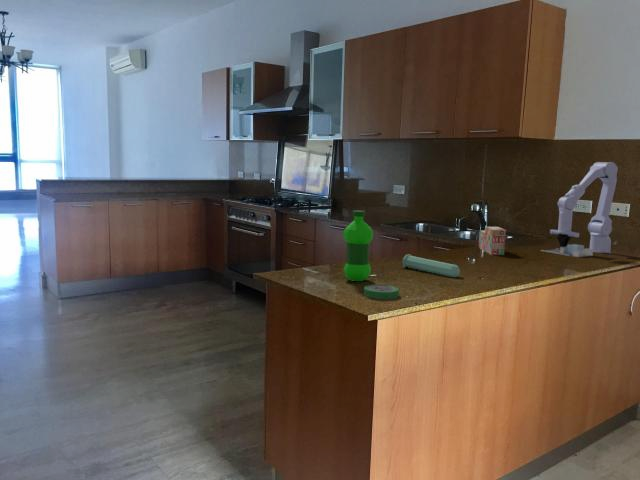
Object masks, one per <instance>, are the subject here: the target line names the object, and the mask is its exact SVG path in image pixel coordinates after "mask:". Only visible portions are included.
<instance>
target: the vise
mask: <svg viewBox="0 0 640 480" xmlns="http://www.w3.org/2000/svg"><path fill="white" fill-rule="evenodd" d="M540 252H544V253H551V254H554V255H555V254H557V255H561V256H566V257H574V258H584V257H593V256H594V255H593V254H594V252H593V249H590V248H589V247H588V248H585V247H584V249H575V250H573V255H569V254H563V253H560V249H559V248H558V247H556V248H555V249H546V250H544V249H540Z"/></svg>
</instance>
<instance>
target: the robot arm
mask: <svg viewBox="0 0 640 480" xmlns="http://www.w3.org/2000/svg"><path fill="white" fill-rule="evenodd" d="M618 171H619V168H618V166H617V164H616V163H615V162H614V161H609V162H607V161H605V162H604V161H601V162H600V161H596V162H594V163H593V165H591V166H590V167H589V171H588V172H587V174H586V175H585V176H584V177H583V178H582V180H581V181H580V182H579V184H575V185H574V184H573V185H572V186H571V188H570V189H569V191H568V192H567V193H565V195H564V196H561V197H560V198H559V199H558V201H557V202H556V205H557V207H558V211H559V214H558V227H557V229H550V230H549V234H551V235H557V236H556V239H557V240H558V243H559V247H564V246H567V245H569V242H570V240H571V239H572V238H580V232H577V231H572V228H573V227H572V225H573V223H572V222H573V211H574V210H573V209H575V208H576V206H577V202H578V201H579V200H580V198H582V196H583V195H584V194H585V192H586V189H587V187H589V186H590V185H591V184H592V183H593V182H594V181H595V180H596V179H597V178H599V179H600V180H601V182H602V187H601V192H600V195H599V200H598V205H597V208H596V213H595V215H593V216H592V217H591V218H590V222H589V223H588V224H587V231H588V232H589V235H590V240H589V249H593V253H599V254H605V253H606V254H611V246H612V240H611V237H610V236H609V235H610V234H611V233H612V230H613V227H612V223H613V220H612V219H611V218H610V211H611V208H612V207H611V206H612V203H613V199H614V194H615V191H616V185H617V181H618V178H617V174H618Z"/></svg>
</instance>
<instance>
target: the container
mask: <svg viewBox="0 0 640 480" xmlns="http://www.w3.org/2000/svg"><path fill="white" fill-rule="evenodd" d="M402 266H403V267H404V268H405V267H408V268H407V269H413V270H416V269H417V270H418V271H421V272H425V271H426V272H425V273H430V272H431V273H430V274H434V273H435V274H436V275H440V276H444V277H450V278H457V277H459V275H460V272H461V269H460V267H459V266H458V265H457V264H454V263H453V264H452V263H448V262H442V261H438V260H434V259H433V260H432V259H429V258H428V259H427V258H423V257H418V256H414V255H412V254H409V253H408V254H405V255H404V257H403V258H402Z"/></svg>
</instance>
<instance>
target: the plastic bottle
mask: <svg viewBox="0 0 640 480" xmlns="http://www.w3.org/2000/svg"><path fill="white" fill-rule="evenodd" d="M365 216H366V211H365V210H352V217H353V221H352V222H350V223H349V224H348V225H347V226H346V227H345V228H344V229H343V236H342V237H343V240H344V241H345V242H346V263H345V264H344V267H343V274H344V276H345V277H346V278H347V279H348V280H349V281H350V280H354V281H362V280H364V281H365V280H367V279H368V277H369V276H370V275H371V273H372V272H371V271H372V266H371V264H370V263H369V261H370V260H369V257H370V255H369V254H370V243H371V242H372V240H373V237H374V231H373V229H372V228H371V226H369V225H368V223H367V222H365V221H364V217H365Z"/></svg>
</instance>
